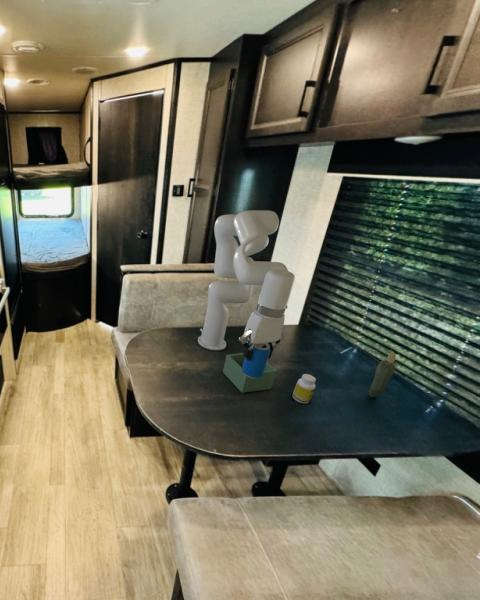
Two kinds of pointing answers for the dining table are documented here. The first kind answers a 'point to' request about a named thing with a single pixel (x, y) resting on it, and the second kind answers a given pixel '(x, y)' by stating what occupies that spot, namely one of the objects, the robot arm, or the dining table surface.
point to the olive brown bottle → (382, 375)
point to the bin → (244, 382)
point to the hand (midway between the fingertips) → (256, 356)
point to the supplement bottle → (304, 389)
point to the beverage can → (257, 361)
